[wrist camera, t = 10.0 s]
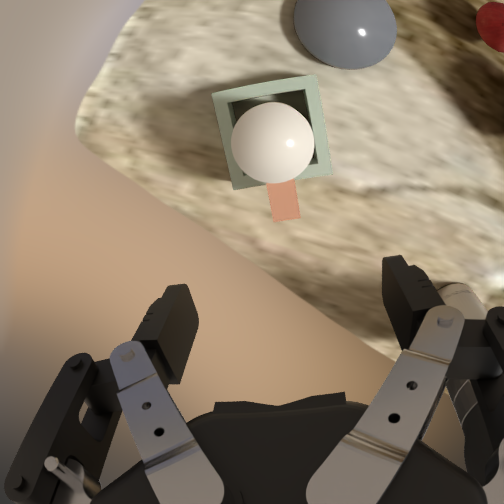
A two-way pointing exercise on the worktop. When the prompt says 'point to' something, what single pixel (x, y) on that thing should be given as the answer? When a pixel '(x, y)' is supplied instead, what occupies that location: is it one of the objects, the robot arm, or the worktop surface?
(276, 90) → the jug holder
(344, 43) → the coaster
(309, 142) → the jug
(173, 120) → the worktop surface
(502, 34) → the onion
